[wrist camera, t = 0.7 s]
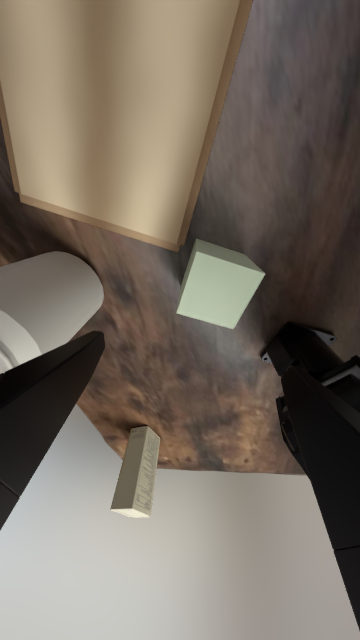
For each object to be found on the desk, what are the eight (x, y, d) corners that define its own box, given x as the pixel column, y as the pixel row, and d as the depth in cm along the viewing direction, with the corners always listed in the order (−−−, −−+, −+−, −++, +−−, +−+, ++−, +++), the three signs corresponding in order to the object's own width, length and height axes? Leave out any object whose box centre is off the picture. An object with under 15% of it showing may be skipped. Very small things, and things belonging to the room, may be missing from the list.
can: (35, 239, 17) (-182, 281, 7) (109, 262, 18) (4, 329, 8) (45, 302, 21) (-86, 385, 11) (105, 319, 22) (32, 410, 12)
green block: (244, 254, 17) (265, 273, 12) (223, 298, 20) (233, 329, 15) (195, 238, 16) (196, 251, 11) (181, 285, 19) (176, 313, 14)
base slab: (250, 8, 10) (270, -61, 7) (183, 247, 17) (181, 254, 14) (3, -112, 8) (-77, -246, 6) (43, 201, 16) (14, 200, 13)
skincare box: (131, 427, 38) (107, 509, 27) (148, 424, 36) (131, 508, 26) (145, 440, 41) (128, 518, 30) (162, 438, 39) (151, 518, 29)
